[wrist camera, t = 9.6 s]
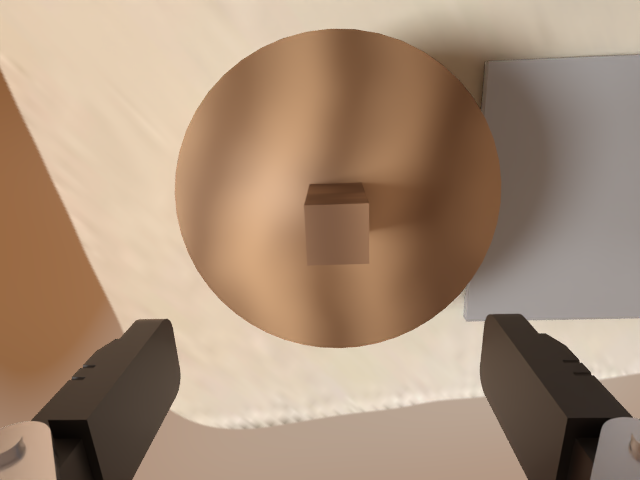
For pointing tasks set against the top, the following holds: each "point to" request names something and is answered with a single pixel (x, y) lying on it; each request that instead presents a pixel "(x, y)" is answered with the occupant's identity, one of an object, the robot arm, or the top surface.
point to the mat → (563, 190)
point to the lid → (338, 188)
